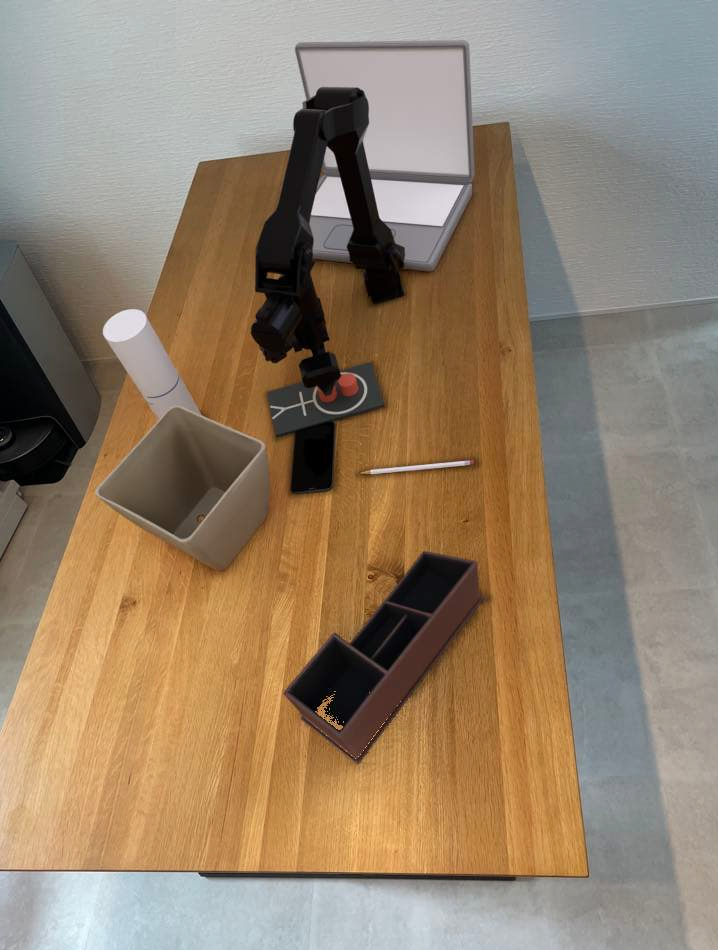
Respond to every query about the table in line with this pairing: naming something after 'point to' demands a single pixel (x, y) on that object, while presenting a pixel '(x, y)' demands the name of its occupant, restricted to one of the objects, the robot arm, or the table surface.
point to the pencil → (419, 467)
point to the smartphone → (313, 459)
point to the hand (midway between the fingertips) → (323, 376)
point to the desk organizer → (387, 653)
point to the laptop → (399, 141)
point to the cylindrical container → (147, 362)
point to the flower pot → (193, 486)
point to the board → (306, 408)
